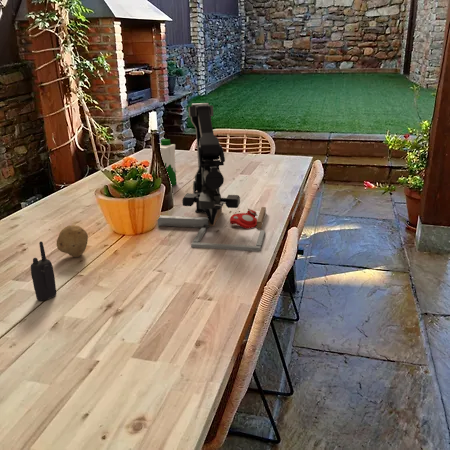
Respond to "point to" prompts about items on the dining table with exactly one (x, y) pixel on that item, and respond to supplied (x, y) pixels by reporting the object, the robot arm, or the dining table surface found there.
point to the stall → (259, 220)
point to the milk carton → (169, 159)
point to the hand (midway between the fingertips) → (212, 224)
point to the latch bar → (183, 221)
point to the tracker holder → (245, 219)
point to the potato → (72, 240)
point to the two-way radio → (43, 276)
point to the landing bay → (227, 246)
